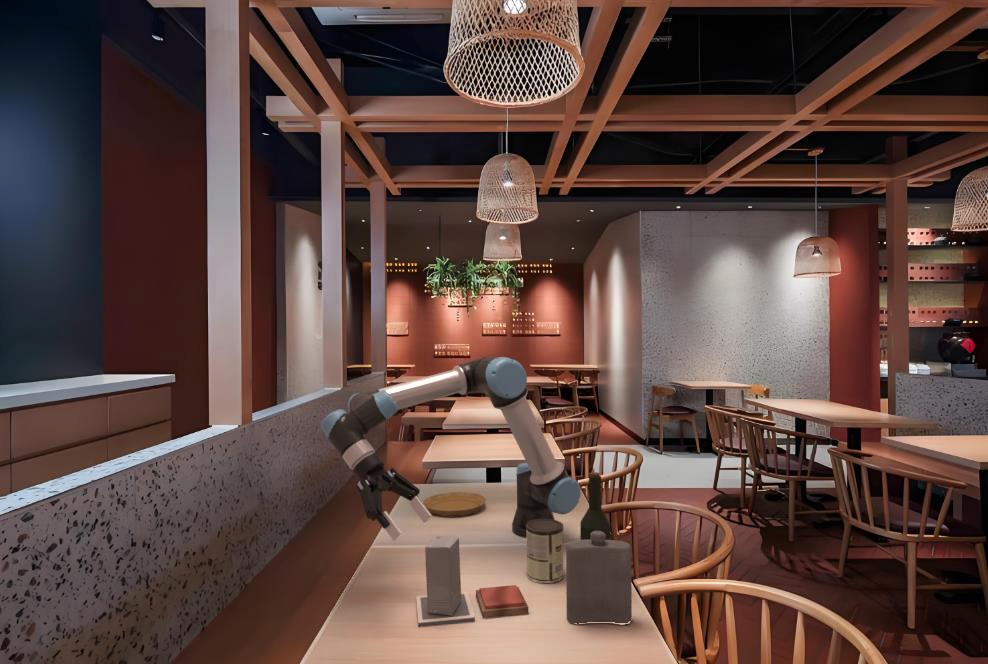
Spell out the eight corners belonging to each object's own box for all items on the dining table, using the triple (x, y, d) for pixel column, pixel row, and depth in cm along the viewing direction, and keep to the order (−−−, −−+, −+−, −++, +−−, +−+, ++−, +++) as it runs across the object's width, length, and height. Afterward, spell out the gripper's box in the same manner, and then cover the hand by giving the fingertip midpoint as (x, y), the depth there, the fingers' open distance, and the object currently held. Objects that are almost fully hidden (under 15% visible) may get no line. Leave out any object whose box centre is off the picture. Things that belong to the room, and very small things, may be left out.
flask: (628, 613, 130) (627, 528, 130) (633, 626, 124) (633, 537, 124) (565, 612, 131) (564, 528, 131) (567, 625, 125) (567, 537, 125)
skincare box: (452, 617, 127) (452, 548, 127) (423, 614, 129) (423, 546, 129) (462, 600, 135) (462, 535, 136) (435, 597, 137) (434, 533, 137)
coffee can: (531, 566, 157) (531, 516, 158) (567, 570, 154) (566, 520, 154) (521, 581, 148) (521, 528, 148) (559, 586, 144) (558, 532, 145)
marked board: (467, 595, 140) (467, 591, 140) (474, 621, 127) (474, 617, 127) (416, 600, 137) (416, 596, 137) (418, 627, 124) (418, 622, 124)
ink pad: (518, 592, 141) (518, 583, 141) (528, 613, 130) (528, 603, 130) (475, 596, 139) (475, 587, 139) (482, 618, 128) (482, 608, 128)
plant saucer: (412, 516, 204) (412, 507, 204) (437, 497, 227) (437, 489, 227) (474, 521, 197) (474, 512, 197) (493, 502, 220) (493, 494, 220)
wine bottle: (605, 598, 137) (604, 478, 138) (574, 590, 142) (573, 474, 142) (616, 586, 144) (615, 472, 145) (587, 578, 149) (586, 468, 149)
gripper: (384, 461, 154) (430, 521, 148) (322, 482, 132) (373, 555, 125) (400, 443, 152) (447, 504, 146) (339, 462, 129) (393, 535, 123)
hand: (413, 527), depth 135 cm, fingers open, 13 cm apart
